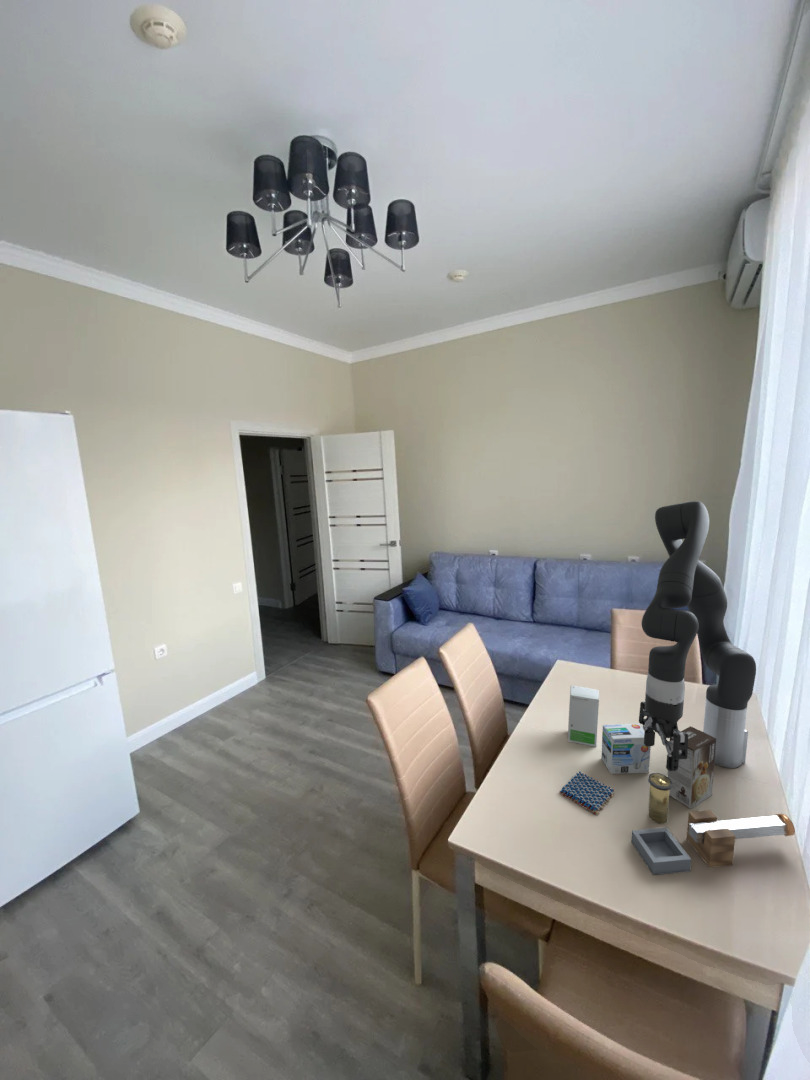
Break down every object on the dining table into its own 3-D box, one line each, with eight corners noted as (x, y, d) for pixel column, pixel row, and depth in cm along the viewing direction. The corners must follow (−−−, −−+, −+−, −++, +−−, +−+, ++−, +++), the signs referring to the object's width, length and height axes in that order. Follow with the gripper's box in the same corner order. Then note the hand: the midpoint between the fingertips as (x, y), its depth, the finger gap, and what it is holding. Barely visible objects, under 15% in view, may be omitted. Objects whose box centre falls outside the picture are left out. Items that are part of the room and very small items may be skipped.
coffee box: (686, 779, 116) (690, 724, 114) (712, 795, 111) (717, 738, 108) (665, 793, 112) (669, 736, 109) (691, 809, 107) (695, 750, 104)
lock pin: (777, 825, 98) (779, 809, 97) (793, 840, 94) (795, 824, 93) (685, 833, 97) (687, 817, 96) (698, 849, 93) (700, 832, 92)
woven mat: (616, 795, 113) (617, 788, 113) (597, 818, 106) (597, 811, 106) (578, 775, 121) (578, 768, 120) (557, 795, 114) (557, 788, 114)
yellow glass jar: (661, 808, 108) (663, 772, 106) (674, 824, 103) (676, 786, 101) (642, 810, 107) (644, 773, 106) (654, 826, 103) (656, 788, 101)
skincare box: (567, 742, 134) (568, 695, 131) (568, 729, 140) (569, 684, 137) (597, 747, 131) (599, 699, 128) (597, 734, 137) (598, 688, 134)
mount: (707, 837, 99) (710, 809, 98) (732, 865, 92) (735, 836, 91) (686, 839, 99) (688, 811, 98) (709, 867, 92) (712, 838, 91)
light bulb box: (611, 774, 120) (612, 739, 118) (600, 758, 126) (601, 724, 124) (650, 773, 120) (652, 737, 118) (637, 756, 126) (639, 722, 124)
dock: (665, 838, 99) (666, 827, 99) (690, 871, 91) (691, 859, 91) (631, 842, 99) (631, 830, 98) (652, 874, 91) (653, 862, 90)
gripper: (630, 679, 106) (627, 739, 109) (668, 712, 92) (663, 780, 95) (661, 677, 107) (656, 737, 110) (703, 709, 93) (697, 777, 96)
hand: (659, 757), depth 103 cm, fingers open, 8 cm apart
